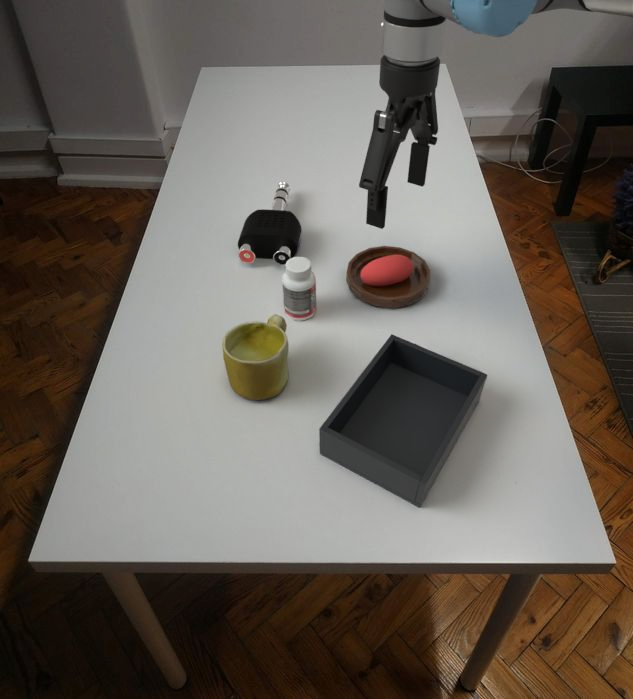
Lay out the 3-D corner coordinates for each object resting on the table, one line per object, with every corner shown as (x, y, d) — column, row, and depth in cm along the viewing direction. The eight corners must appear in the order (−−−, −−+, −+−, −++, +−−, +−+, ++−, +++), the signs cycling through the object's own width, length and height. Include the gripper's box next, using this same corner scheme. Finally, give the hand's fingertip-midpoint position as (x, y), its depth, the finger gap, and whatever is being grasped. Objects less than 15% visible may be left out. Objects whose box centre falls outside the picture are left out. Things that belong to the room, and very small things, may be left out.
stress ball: (411, 298, 95) (424, 264, 93) (364, 288, 92) (376, 252, 90) (400, 288, 100) (412, 255, 98) (354, 278, 97) (366, 244, 95)
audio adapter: (232, 243, 97) (257, 170, 114) (236, 267, 101) (260, 193, 118) (294, 246, 96) (310, 172, 113) (295, 270, 100) (311, 195, 117)
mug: (266, 417, 76) (252, 352, 71) (216, 399, 82) (200, 339, 77) (321, 375, 84) (311, 314, 79) (272, 362, 90) (260, 305, 85)
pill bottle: (319, 318, 91) (319, 272, 84) (287, 324, 91) (284, 277, 83) (312, 297, 95) (310, 251, 88) (281, 302, 94) (277, 256, 87)
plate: (441, 273, 99) (443, 262, 97) (405, 321, 91) (407, 310, 89) (371, 248, 104) (372, 237, 102) (331, 291, 96) (331, 280, 94)
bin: (479, 400, 79) (487, 374, 75) (419, 508, 68) (425, 484, 64) (388, 360, 85) (391, 333, 81) (319, 454, 74) (319, 428, 70)
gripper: (425, 22, 78) (410, 162, 94) (333, 84, 64) (333, 236, 80) (476, 31, 76) (451, 173, 91) (391, 97, 61) (379, 253, 77)
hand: (396, 203), depth 85 cm, fingers open, 13 cm apart
